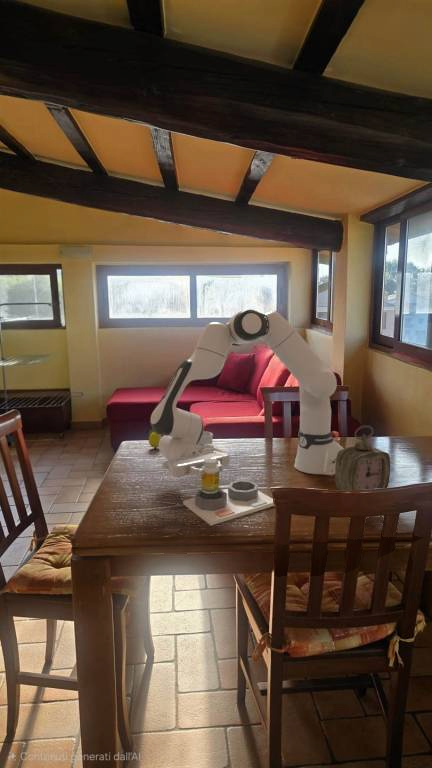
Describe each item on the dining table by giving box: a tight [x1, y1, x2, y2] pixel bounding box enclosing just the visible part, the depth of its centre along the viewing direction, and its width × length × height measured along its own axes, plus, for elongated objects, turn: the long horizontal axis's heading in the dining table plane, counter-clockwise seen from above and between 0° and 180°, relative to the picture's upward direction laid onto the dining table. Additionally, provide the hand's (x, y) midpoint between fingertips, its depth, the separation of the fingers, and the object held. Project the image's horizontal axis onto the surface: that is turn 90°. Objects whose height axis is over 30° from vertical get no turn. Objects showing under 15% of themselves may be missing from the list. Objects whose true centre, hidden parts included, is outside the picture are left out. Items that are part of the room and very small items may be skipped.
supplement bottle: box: [200, 458, 220, 494], centre depth 140 cm, size 5×5×10 cm
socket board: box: [182, 479, 274, 526], centre depth 143 cm, size 24×16×4 cm, turn 123°
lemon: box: [148, 428, 163, 450], centre depth 195 cm, size 7×6×10 cm
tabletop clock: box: [334, 425, 391, 491], centre depth 142 cm, size 14×9×25 cm, turn 114°
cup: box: [198, 430, 214, 445], centre depth 192 cm, size 11×8×8 cm
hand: (211, 471), depth 139 cm, fingers closed on supplement bottle, 5 cm apart
